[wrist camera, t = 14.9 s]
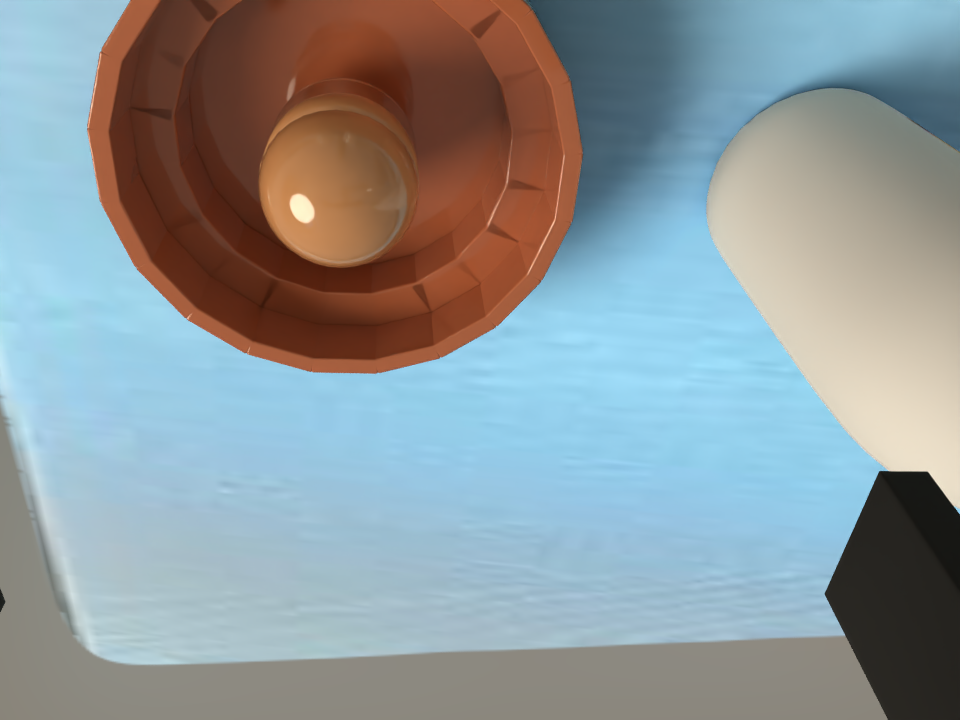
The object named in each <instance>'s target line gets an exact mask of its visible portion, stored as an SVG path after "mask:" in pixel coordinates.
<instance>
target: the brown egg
mask: <svg viewBox="0 0 960 720" xmlns="http://www.w3.org/2000/svg"><path fill="white" fill-rule="evenodd" d="M258 194H259V199H260V204H261V208H262V211H263V213H264V215H265V217H266V220H267V222H268V224H269V226H270V228H271V229H272V231H273V232H274V234H275V235H276V236H277V238H278V239H279V240H280V241H281V242H282V243H283V244H284V245H285V246H286V247H287V248H288V249H289V250H291V251H292V252H294V253H295V254H297V255H298V256H300V257H301V258H304V259H306V260H308V261H310V262H313V263H315V264H319V265H323V266H327V267H337V268H345V267H356V266H360V265H364V264H367V263H370V262H372V261H374V260H377V259H379V258H381V257H382V256H384V255H385V254H386V253H388V252H389V251H391V250H392V249H393V248H394V247H395V246H396V245H397V244H398V242H399V241H400V240H401V239H402V238H403V237H404V236H405V234H406V233H407V231H408V229H409V227H410V226H411V224H412V222H413V219H414V216H415V213H416V210H417V205H418V199H419V173H418V158H417V146H416V140H415V136H414V132H413V130H412V127H411V124H410V122H409V120H408V118H407V116H406V114H405V113H404V111H403V109H402V108H401V107H400V106H399V105H398V103H397V102H396V101H395V100H394V99H393V98H392V97H391V96H389V95H388V94H387V93H386V92H385V91H383V90H382V89H380V88H378V87H376V86H374V85H373V84H371V83H368V82H365V81H362V80H359V79H354V78H346V77H335V78H326V79H323V80H319V81H316V82H313V83H311V84H309V85H307V86H305V87H303V88H301V89H300V90H299V91H298V92H297V93H295V94H294V95H293V96H292V97H291V98H290V99H289V100H288V101H287V103H286V104H285V105H284V106H283V108H282V109H281V111H280V112H279V114H278V116H277V118H276V120H275V122H274V125H273V128H272V131H271V134H270V137H269V140H268V143H267V146H266V149H265V152H264V155H263V157H262V161H261V164H260V169H259V178H258Z"/></svg>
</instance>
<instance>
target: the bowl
mask: <svg viewBox="0 0 960 720" xmlns="http://www.w3.org/2000/svg"><path fill="white" fill-rule="evenodd" d="M335 77H346V78H354V79H359V80H362V81H365V82H368V83H371V84H373V85H374V86H376V87H378V88H380V89H382V90H383V91H385V92H386V93H387V94H388V95H389V96H391V97H392V98H393V99H394V100H395V101H396V102H397V103H398V105H399V106H400V107H401V108H402V109H403V111H404V113H405V114H406V116H407V118H408V120H409V122H410V124H411V127H412V130H413V132H414V136H415V140H416V146H417V158H418V173H419V199H418V205H417V210H416V213H415V216H414V219H413V222H412V224H411V226H410V227H409V229H408V231H407V233H406V234H405V236H404V237H403V238H402V239H401V240H400V241H399V242H398V244H397V245H396V246H395V247H394V248H393V249H392V250H391V251H389V252H388V253H386V254H385V255H384V256H382V257H381V258H379V259H377V260H374V261H372V262H370V263H367V264H364V265H360V266H356V267H345V268H337V267H327V266H323V265H319V264H315V263H313V262H310V261H308V260H306V259H304V258H301V257H300V256H298V255H297V254H295V253H294V252H292V251H291V250H289V249H288V248H287V247H286V246H285V245H284V244H283V243H282V242H281V241H280V240H279V239H278V238H277V236H276V235H275V234H274V232H273V231H272V229H271V228H270V226H269V224H268V222H267V220H266V217H265V215H264V213H263V211H262V208H261V204H260V199H259V194H258V178H259V169H260V164H261V161H262V157H263V155H264V152H265V149H266V146H267V143H268V140H269V137H270V134H271V131H272V128H273V125H274V122H275V120H276V118H277V116H278V114H279V112H280V111H281V109H282V108H283V106H284V105H285V104H286V103H287V101H288V100H289V99H290V98H291V97H292V96H293V95H294V94H295V93H297V92H298V91H299V90H300V89H301V88H303V87H305V86H307V85H309V84H311V83H313V82H316V81H319V80H323V79H326V78H335ZM87 127H88V128H87V132H88V137H89V143H90V149H91V154H92V160H93V165H94V171H95V177H96V182H97V188H98V193H99V199H100V202H101V204H102V206H103V208H104V210H105V212H106V214H107V216H108V217H109V219H110V221H111V223H112V225H113V227H114V229H115V230H116V232H117V234H118V236H119V238H120V240H121V242H122V244H123V245H124V247H125V249H126V251H127V253H128V255H129V257H130V258H131V260H132V262H133V264H134V266H135V267H136V268H137V270H138V271H139V272H140V273H141V274H142V275H143V276H144V277H145V278H146V279H147V280H148V281H149V282H150V283H151V284H152V285H153V286H154V287H155V288H156V289H157V290H158V291H159V292H160V293H161V294H162V295H163V296H164V297H165V298H166V299H167V300H168V301H169V302H170V303H171V304H172V305H173V306H174V307H175V308H176V309H177V310H178V311H179V312H180V313H181V314H182V315H183V316H184V317H185V318H187V320H189V321H190V322H192V323H194V324H195V325H197V326H199V327H201V328H202V329H204V330H206V331H207V332H209V333H211V334H213V335H214V336H216V337H218V338H220V339H221V340H223V341H225V342H226V343H228V344H230V345H232V346H233V347H235V348H237V349H238V350H240V351H242V352H244V353H247V354H248V355H252V356H255V357H259V358H263V359H266V360H270V361H273V362H277V363H281V364H284V365H288V366H291V367H295V368H298V369H302V370H306V371H309V372H311V371H312V372H321V373H373V374H376V373H382V372H386V371H390V370H394V369H398V368H402V367H406V366H411V365H415V364H419V363H423V362H427V361H431V360H435V359H439V358H440V357H444V356H446V355H447V354H449V353H451V352H453V351H455V350H456V349H458V348H460V347H462V346H463V345H465V344H467V343H469V342H471V341H472V340H474V339H476V338H478V337H480V336H481V335H483V334H485V333H487V332H489V331H490V330H492V329H494V328H495V327H496V326H498V325H499V324H500V323H501V322H502V321H503V320H504V319H505V318H506V317H507V316H508V315H509V314H510V313H511V312H512V311H513V310H514V309H515V308H516V307H517V306H518V305H519V304H520V303H521V302H522V301H523V300H524V299H525V298H526V297H527V296H528V295H529V294H530V293H531V292H532V291H533V290H534V289H535V288H536V287H537V285H538V284H539V283H540V282H541V280H543V278H544V276H545V274H546V272H547V270H548V268H549V266H550V264H551V262H552V260H553V258H554V257H555V255H556V253H557V251H558V249H559V247H560V245H561V243H562V241H563V239H564V237H565V235H566V233H567V231H568V229H569V227H570V225H571V222H572V221H573V216H574V209H575V203H576V197H577V190H578V184H579V178H580V171H581V165H582V159H583V148H582V142H581V136H580V130H579V125H578V119H577V113H576V107H575V101H574V95H573V89H572V83H571V80H570V77H569V75H568V73H567V71H566V70H565V68H564V66H563V64H562V62H561V60H560V58H559V57H558V55H557V53H556V51H555V49H554V47H553V45H552V44H551V42H550V40H549V38H548V36H547V34H546V32H545V31H544V29H543V27H542V25H541V23H540V21H539V20H538V18H537V16H536V14H535V12H534V10H533V9H532V7H531V5H530V4H529V2H528V0H130V2H129V4H128V5H127V7H126V9H125V10H124V12H123V14H122V15H121V17H120V19H119V20H118V22H117V24H116V25H115V27H114V29H113V30H112V32H111V34H110V35H109V37H108V39H107V40H106V42H105V43H104V45H103V47H102V51H101V52H100V54H99V60H98V66H97V72H96V78H95V83H94V89H93V95H92V101H91V107H90V113H89V118H88V124H87Z"/></svg>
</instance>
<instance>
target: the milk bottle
mask: <svg viewBox="0 0 960 720" xmlns="http://www.w3.org/2000/svg"><path fill="white" fill-rule="evenodd" d="M706 214H707V223H708V227H709V232H710V234H711V237H712V240H713V242H714V244H715V246H716V248H717V249H718V251H719V253H720V254H721V256H722V258H723V259H724V261H725V262H726V264H727V265H728V267H729V268H730V270H731V271H732V273H733V274H734V276H735V277H736V279H737V280H738V281H739V283H740V284H741V286H742V287H743V289H744V290H745V292H746V293H747V295H748V296H749V298H750V299H751V301H752V302H753V303H754V305H755V306H756V308H757V309H758V311H759V312H760V314H761V315H762V317H763V318H764V319H765V321H766V322H767V324H768V325H769V327H770V328H771V330H772V331H773V333H774V334H775V335H776V337H777V338H778V340H779V341H780V343H781V344H782V345H783V347H784V348H785V350H786V351H787V353H788V354H789V355H790V357H791V358H792V360H793V361H794V362H795V364H796V365H797V367H798V368H799V370H800V371H801V372H802V374H803V375H804V377H805V378H806V379H807V381H808V382H809V384H810V385H811V386H812V388H813V389H814V391H815V392H816V393H817V395H818V396H819V397H820V399H821V400H822V401H823V402H824V404H825V405H826V406H827V408H828V409H829V410H830V411H831V413H832V414H833V415H834V417H835V418H836V419H837V421H838V422H839V423H840V424H841V426H842V427H843V428H844V429H845V430H846V432H847V433H848V434H849V435H850V436H851V437H852V438H853V439H854V440H855V441H856V442H857V443H858V444H859V445H860V446H861V447H862V448H863V449H864V450H865V451H866V452H867V453H868V454H869V455H870V456H871V457H873V458H874V459H875V460H876V461H878V462H879V463H880V464H881V465H882V466H884V467H885V468H886V469H887V470H889V471H928V472H929V474H930V475H931V476H932V478H933V479H934V481H935V482H936V483H937V485H938V486H939V487H940V489H941V490H942V491H943V493H944V494H945V495H946V497H947V498H948V499H949V501H950V502H951V503H952V505H953V506H955V507H957V508H959V509H960V152H959V151H957V150H956V149H954V148H953V147H951V146H950V145H948V144H947V143H945V142H944V141H942V140H941V139H939V138H938V137H936V136H935V135H933V134H932V133H930V132H929V131H927V130H926V129H924V128H923V127H921V126H920V125H918V124H917V123H915V122H914V121H912V120H911V119H909V118H908V117H906V116H905V115H903V114H902V113H900V112H899V111H897V110H895V109H894V108H892V107H891V106H889V105H887V104H885V103H884V102H882V101H880V100H878V99H877V98H875V97H873V96H871V95H868V94H866V93H863V92H860V91H856V90H852V89H844V88H826V89H818V90H812V91H808V92H804V93H800V94H796V95H793V96H791V97H789V98H787V99H784V100H782V101H779V102H777V103H775V104H773V105H772V106H770V107H769V108H767V109H766V110H764V111H762V112H761V113H759V114H757V115H756V116H755V117H754V118H753V119H752V120H751V121H750V122H748V123H747V124H746V125H745V126H744V127H742V128H741V129H740V131H739V132H738V133H737V134H736V136H735V137H734V138H733V139H732V140H731V142H730V143H729V144H728V145H727V147H726V149H725V150H724V152H723V154H722V156H721V157H720V159H719V161H718V162H717V165H716V168H715V171H714V173H713V176H712V178H711V181H710V186H709V190H708V195H707V204H706Z"/></svg>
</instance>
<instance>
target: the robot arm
mask: <svg viewBox="0 0 960 720" xmlns="http://www.w3.org/2000/svg"><path fill="white" fill-rule="evenodd" d="M825 596H826V598H827V600H828V602H829V604H830V606H831V608H832V610H833V612H834V614H835V616H836V618H837V620H838V622H839V624H840V625H841V627H842V629H843V631H844V633H845V635H846V637H847V639H848V641H849V643H850V645H851V647H852V649H853V651H854V653H855V655H856V657H857V659H858V661H859V663H860V665H861V667H862V669H863V671H864V673H865V674H866V677H867V679H868V681H869V683H870V685H871V687H872V689H873V691H874V693H875V695H876V697H877V699H878V701H879V702H880V704H881V707H882V709H883V710H884V712H885V714H886V716H887V718H888V720H960V514H959V513H958V512H957V510H956V509H955V508H954V506H953V505H952V503H951V502H950V501H949V499H948V498H947V497H946V495H945V494H944V493H943V491H942V490H941V489H940V487H939V486H938V485H937V483H936V482H935V481H934V479H933V478H932V476H931V475H930V474H929V472H928V471H879V473H878V475H877V478H876V480H875V482H874V484H873V487H872V489H871V491H870V493H869V496H868V498H867V500H866V502H865V505H864V507H863V509H862V511H861V514H860V516H859V518H858V520H857V523H856V525H855V527H854V529H853V532H852V534H851V536H850V538H849V540H848V543H847V545H846V547H845V549H844V552H843V554H842V556H841V558H840V561H839V563H838V565H837V567H836V570H835V572H834V574H833V576H832V579H831V581H830V583H829V585H828V588H827V590H826V592H825ZM4 604H5V600H4V597H3V594H2V592H1V590H0V612H1V610H2V608H3V606H4Z"/></svg>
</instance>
